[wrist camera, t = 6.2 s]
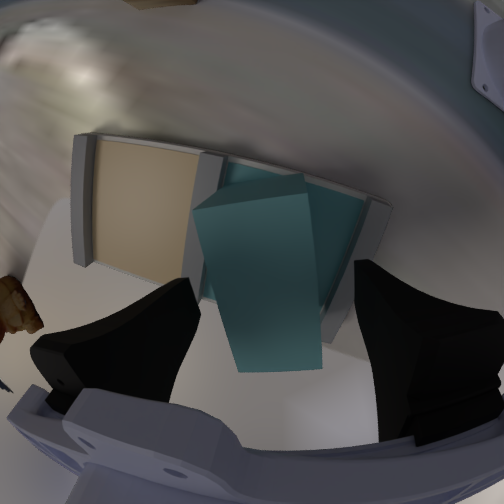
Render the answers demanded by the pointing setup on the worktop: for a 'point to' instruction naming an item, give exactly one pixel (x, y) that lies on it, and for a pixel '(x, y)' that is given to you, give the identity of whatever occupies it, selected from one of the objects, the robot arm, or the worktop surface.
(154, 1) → the maple bar
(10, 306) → the figurine
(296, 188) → the teal bar
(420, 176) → the worktop surface
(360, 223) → the grey flat rectangular tray
